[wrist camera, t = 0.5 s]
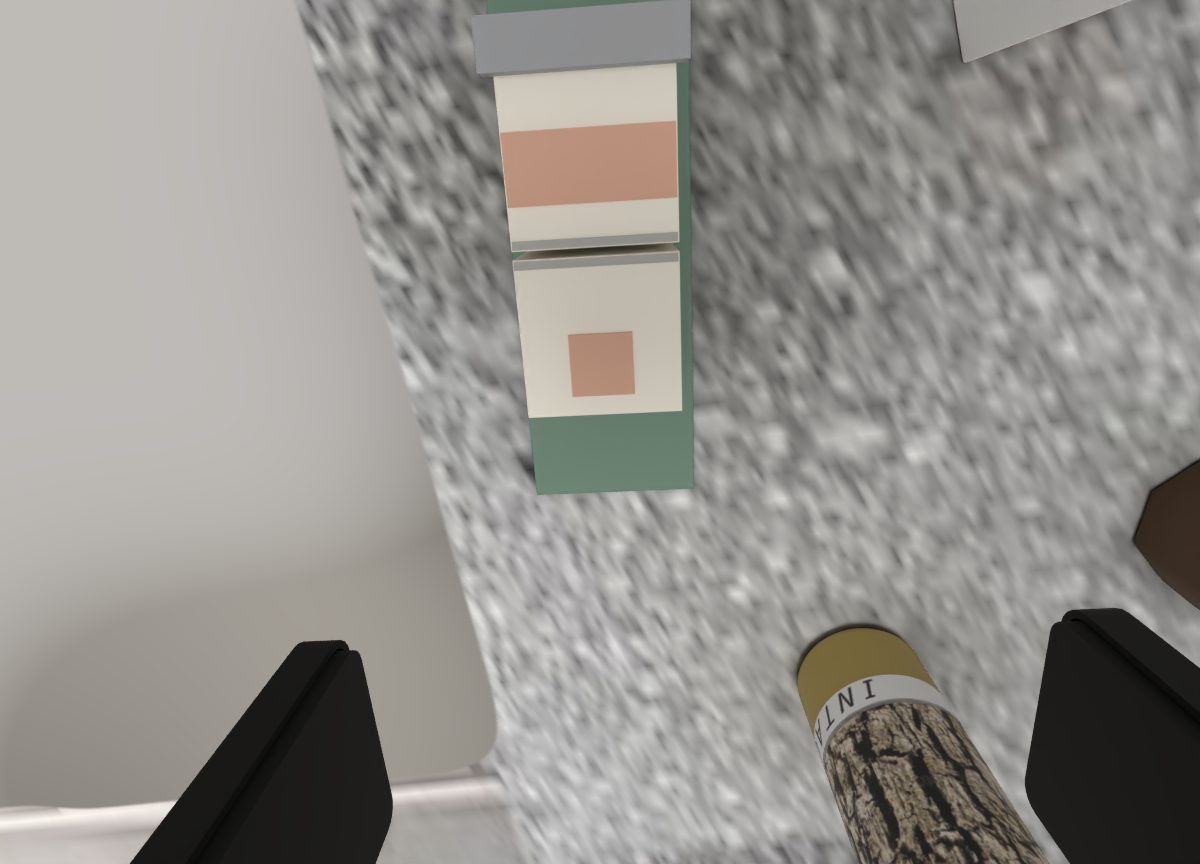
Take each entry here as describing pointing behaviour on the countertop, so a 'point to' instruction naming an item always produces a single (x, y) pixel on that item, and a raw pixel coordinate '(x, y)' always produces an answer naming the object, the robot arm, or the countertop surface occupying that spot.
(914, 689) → the paper tube
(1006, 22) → the milk
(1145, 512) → the beer bottle
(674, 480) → the mat
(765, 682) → the countertop surface
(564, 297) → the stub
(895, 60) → the countertop surface
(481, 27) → the lidded cream box
